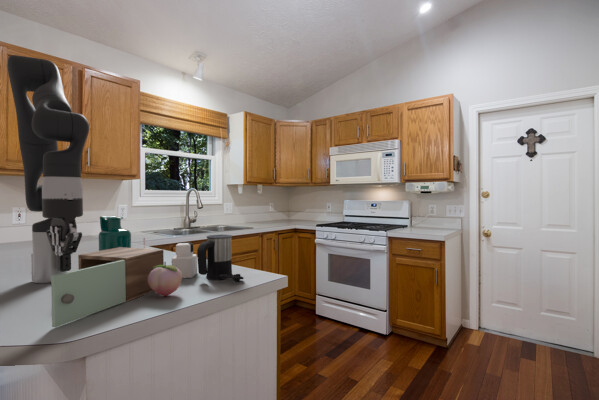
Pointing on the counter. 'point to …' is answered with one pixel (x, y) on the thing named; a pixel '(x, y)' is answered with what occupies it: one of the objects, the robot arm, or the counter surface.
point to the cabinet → (128, 266)
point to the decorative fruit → (164, 279)
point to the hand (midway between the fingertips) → (64, 270)
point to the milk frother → (216, 258)
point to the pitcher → (113, 233)
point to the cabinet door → (87, 291)
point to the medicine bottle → (185, 259)
